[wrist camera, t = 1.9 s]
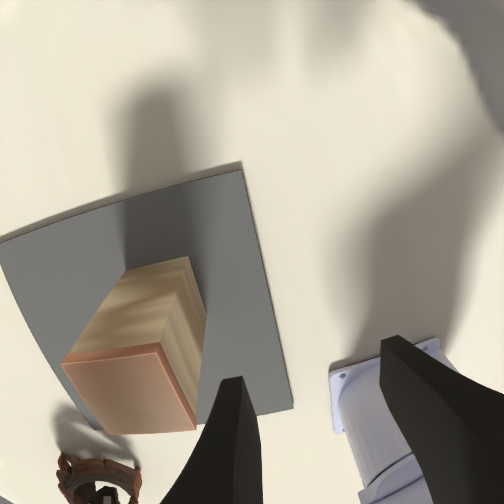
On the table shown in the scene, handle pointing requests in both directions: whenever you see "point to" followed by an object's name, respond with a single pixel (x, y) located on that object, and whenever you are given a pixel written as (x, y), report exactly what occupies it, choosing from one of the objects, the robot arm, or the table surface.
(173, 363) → the maple block
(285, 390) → the charcoal mat
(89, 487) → the brown curved piece
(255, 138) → the table surface
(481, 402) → the robot arm
